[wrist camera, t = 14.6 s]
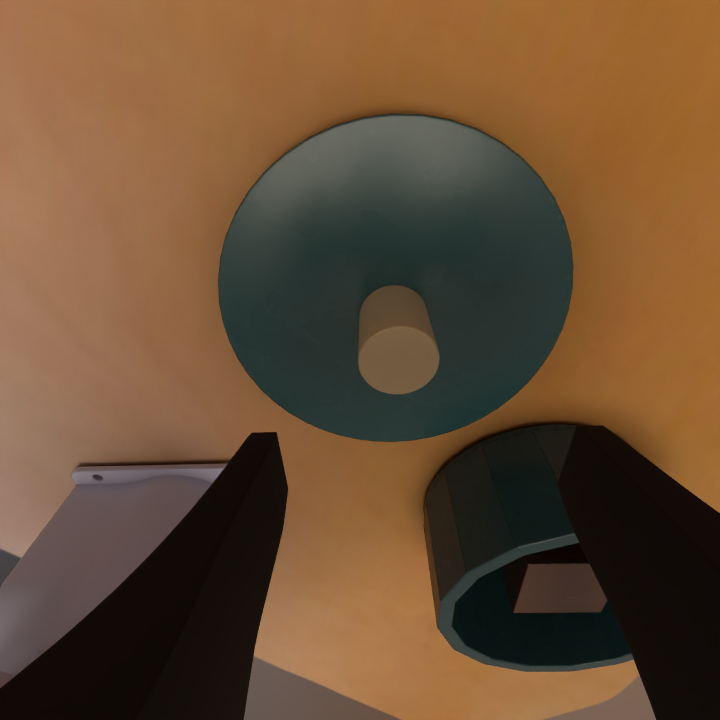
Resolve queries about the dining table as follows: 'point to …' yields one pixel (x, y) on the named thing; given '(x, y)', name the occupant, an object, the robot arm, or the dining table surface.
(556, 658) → the container
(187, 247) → the dining table surface
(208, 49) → the dining table surface
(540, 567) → the block
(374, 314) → the cover
